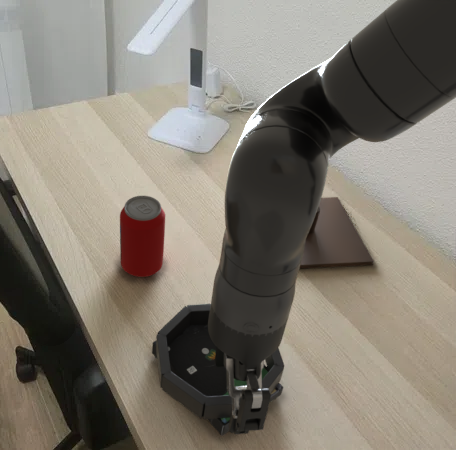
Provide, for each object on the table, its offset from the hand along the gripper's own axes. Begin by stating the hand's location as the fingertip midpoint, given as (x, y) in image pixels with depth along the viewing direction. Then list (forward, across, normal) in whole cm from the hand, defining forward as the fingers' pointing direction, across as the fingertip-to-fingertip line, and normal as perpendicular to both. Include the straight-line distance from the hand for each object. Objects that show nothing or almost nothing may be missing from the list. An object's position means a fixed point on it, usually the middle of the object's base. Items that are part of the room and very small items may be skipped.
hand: (230, 394), depth 64 cm
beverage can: (+6, +28, +8) cm, 30 cm away
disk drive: (+6, +7, 0) cm, 10 cm away
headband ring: (+4, +7, 0) cm, 8 cm away
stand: (+6, +34, -21) cm, 40 cm away
